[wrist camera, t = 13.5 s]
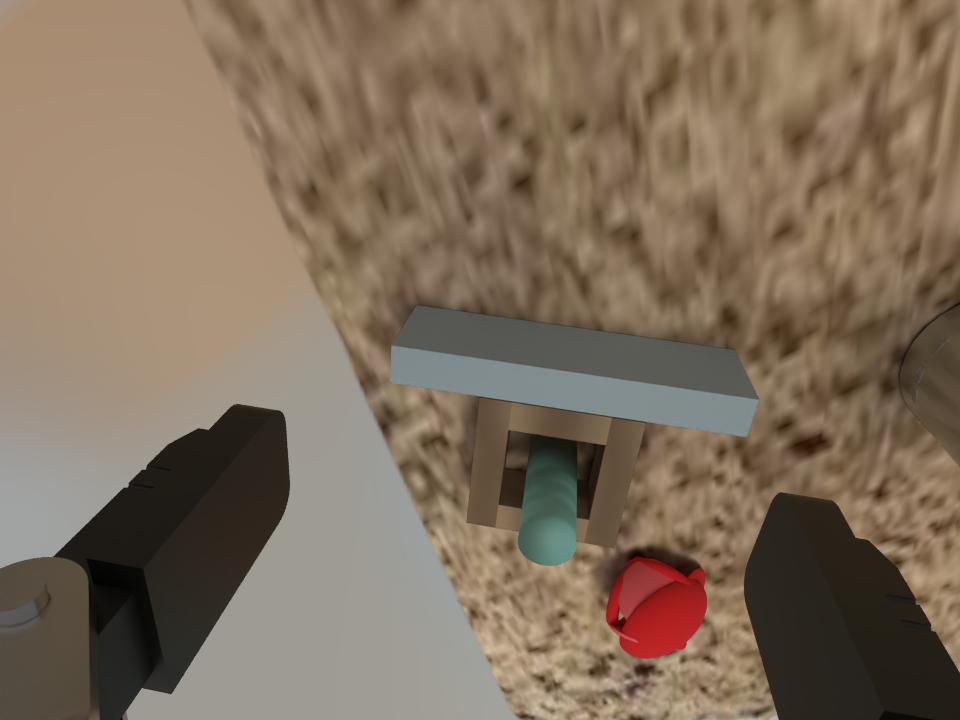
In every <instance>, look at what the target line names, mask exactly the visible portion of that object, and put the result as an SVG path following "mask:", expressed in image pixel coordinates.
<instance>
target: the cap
mask: <svg viewBox="0 0 960 720" xmlns="http://www.w3.org/2000/svg"><path fill="white" fill-rule="evenodd" d="M704 584H705V574H704V571H703V569H701V568H696V569H695V570H693V571H692V572H691V573H690V574H689V576H688V577H685V576H684V575H683V574H681V573H680V572H679V571H677V570H676V569H674V568H672V567H670V566H668V565H666V564H664V563H662V562H660V561H658V560H654V559H646V558H642V557H641V556H636V557H634V559H632V560H629V561H628V563H627V566H626V567H625V568H624V570H623V571H622V573H621V574H620V575H619V577H618V578H617V580H616V582H615V583H614V585H613V588H612V590H611V593H610V596H609V600H608V605H607V612H606V620H607V623H608V625H609V626H610V627H611V629H612V630H613V631H614V632H615V633H616V634H617V635H619V636H620V645H621V647H622V648H623V650H624V651H626V652H627V653H628V654H630V655H632V656H634V657H638V658H645V659H648V658H656V657H660V656H663V655H666V654H669V653H671V652H673V651H674V650H676V649H680V650H682V649H684V648H685V647H686V642H687V641H688V640H689V639H690V638H691V637H692V636H693V635H694V633H695V632H696V631H697V629H698V628H699V626H700V625H701V623H702V621H703V618H704V616H705V613H706V608H707V597H706V593H705V590H704ZM619 608H620V610H621V612H622V614H623V616H624V617H623V618H622V619H621V620H618V615H619Z"/></svg>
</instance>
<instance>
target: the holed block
mask: <svg viewBox="0 0 960 720" xmlns="http://www.w3.org/2000/svg"><path fill="white" fill-rule="evenodd" d="M645 425H646V422H644V421H637V420H631V419H624V418H618V417H611V416H605V415H598V414H592V413H585V412H579V411H572V410H566V409H559V408H552V407H546V406H539V405H533V404H526V403H520V402H513V401H507V400H500V399H494V398H487V397H481V396H480V397H479V406H478V415H477V425H476V435H475V444H474V454H473V464H472V473H471V483H470V493H469V502H468V512H467V522H466V523H471V524H477V525H483V526H489V527H495V528H501V529H506V530H512V531H518V532H519V528H520V520H521V513H522V505H523V497H524V489H525V481H526V473H527V472H525V471H518V470H512V469H506V468H505V465H506V458H507V451H508V443H509V436H510V430H512V431H518V432H525V433H531V434H537V435H544V436H550V437H557V438H563V439H569V440H576V441H582V442H588V443H595V444H597V445H596V450H595V455H594V459H593V464H592V469H591V473H590V478H589V482H586V481H580V480H577V519H576V542H582V543H588V544H594V545H600V546H605V547H611V548H614V546H615V542H616V538H617V534H618V530H619V526H620V523H621V519H622V515H623V511H624V507H625V503H626V499H627V495H628V491H629V487H630V483H631V479H632V476H633V472H634V468H635V464H636V460H637V456H638V452H639V448H640V444H641V440H642V436H643V432H644V429H645Z"/></svg>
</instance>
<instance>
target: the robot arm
mask: <svg viewBox="0 0 960 720" xmlns="http://www.w3.org/2000/svg"><path fill="white" fill-rule="evenodd" d="M900 386H901V391H902V396H903V398H904V400H905V402H906V404H907V405H908V407H909V409H910V410H911V411H912V412H913V413H914V415H915V416H916V417H917V418H918V419H919V420H920V421H921V423H922V424H923V425H924V426H925V427H926V428H927V429H928V430H929V432H930V433H931V434H932V435H933V436H934V437H935V438H936V440H937V441H938V442H939V443H940V444H941V446H942V447H943V448H944V449H945V450H946V452H947V453H948V454H949V455H950V456H951V457H952V458H953V459H954V461H955V462H956V463H957V464H958V465H959V466H960V305H958V306H957V307H955V308H953V309H951V310H949V311H948V312H946V313H944V314H942V315H941V316H940V317H938V318H937V319H936V320H935V321H933V322H932V323H931V324H930V325H928V326H927V327H926V328H925V329H924V330H923V331H922V333H921V334H920V335H919V336H918V337H917V338H916V339H915V340H914V342H913V344H912V345H911V347H910V349H909V350H908V352H907V354H906V356H905V359H904V362H903V365H902V368H901V375H900ZM289 479H290V478H289V463H288V449H287V433H286V421H285V417H284V415H283V413H282V412H281V411H278V410H271V409H265V408H259V407H253V406H247V405H241V404H236V405H233V406H231V407H230V408H229V409H228V410H227V412H225V413H224V414H223V416H222V417H221V418H220V419H219V420H218V421H217V422H216V423H215V424H214V425H213V426H212V427H211V428H210V429H209V430H205V429H199V428H198V429H196V430H194V431H193V432H191V433H189V434H187V435H185V436H183V437H181V438H179V439H177V440H175V441H174V442H172V443H170V444H168V445H167V446H166V447H165V448H164V449H163V450H162V451H161V452H160V453H159V454H158V455H157V456H156V457H155V458H154V459H153V460H152V461H151V462H150V463H149V464H148V465H147V468H146V470H141V471H140V473H138V474H137V475H136V476H135V477H134V478H133V479H132V480H131V481H130V482H129V486H128V488H123V489H122V490H121V491H120V492H119V493H118V494H117V495H116V496H115V497H114V498H113V499H112V500H111V501H110V502H109V503H108V504H107V505H106V506H105V507H104V508H103V509H102V510H101V511H100V512H99V513H98V514H96V516H94V517H93V518H92V519H91V521H89V522H88V523H87V524H86V525H85V526H84V527H83V528H82V529H81V530H80V531H79V532H78V533H77V534H76V535H75V536H74V537H73V538H72V539H71V540H70V541H69V542H68V543H67V544H66V545H65V546H64V547H63V548H62V549H61V550H60V551H59V552H58V553H57V554H56V555H55V556H53V557H42V558H33V559H28V560H24V561H20V562H17V563H13V564H11V565H8V566H6V567H3V568H1V569H0V720H128V719H127V714H126V710H127V709H128V707H129V706H130V704H131V703H132V702H133V700H134V699H135V697H136V696H137V694H138V693H139V691H140V690H141V688H144V689H149V690H154V691H159V692H164V693H168V694H172V692H173V691H174V689H175V688H176V686H177V684H178V683H179V681H180V680H181V678H182V676H183V675H184V673H185V672H186V670H187V669H188V667H189V665H190V664H191V662H192V661H193V659H194V657H195V656H196V654H197V653H198V651H199V649H200V647H201V646H202V645H203V643H204V642H205V640H206V638H207V637H208V635H209V634H210V632H211V630H212V629H213V627H214V625H215V624H216V622H217V621H218V619H219V618H220V616H221V614H222V613H223V611H224V610H225V608H226V607H227V605H228V603H229V602H230V600H231V599H232V597H233V595H234V594H235V592H236V590H237V589H238V587H239V586H240V584H241V583H242V581H243V579H244V578H245V576H246V575H247V573H248V572H249V570H250V568H251V567H252V565H253V563H254V562H255V560H256V559H257V557H258V556H259V554H260V552H261V551H262V549H263V548H264V546H265V544H266V543H267V541H268V540H269V538H270V536H271V535H272V533H273V532H274V530H275V529H276V527H277V525H278V524H279V522H280V520H281V519H282V516H283V514H284V512H285V509H286V505H287V502H288V497H289V490H290V480H289ZM744 596H745V602H746V607H747V610H748V614H749V617H750V621H751V624H752V628H753V631H754V635H755V638H756V642H757V645H758V648H759V652H760V655H761V659H762V662H763V666H764V669H765V673H766V676H767V680H768V683H769V687H770V690H771V694H772V697H773V701H774V704H775V708H776V711H777V715H778V718H779V720H960V672H959V671H958V669H957V667H956V666H955V664H954V662H953V661H952V659H951V657H950V656H949V654H948V652H947V651H946V649H945V647H944V645H943V644H942V642H941V640H940V639H939V637H938V635H937V634H936V632H934V631H931V624H930V622H929V620H928V618H927V617H926V615H925V613H924V612H923V610H922V608H921V607H920V605H916V603H915V600H916V598H915V597H914V595H913V593H912V592H911V590H910V588H909V586H908V585H907V583H906V581H905V580H904V578H903V576H902V575H901V573H900V571H899V570H898V568H897V567H896V566H895V565H894V564H893V563H892V562H891V561H890V560H888V559H887V558H886V557H885V556H884V555H883V554H882V553H881V552H880V551H879V550H878V549H877V548H876V547H875V546H874V545H873V544H872V543H871V542H869V541H868V540H865V539H859V538H855V536H854V534H853V532H852V531H851V529H850V527H849V525H848V523H847V521H846V520H845V518H844V516H843V514H842V512H841V510H840V509H839V507H838V505H837V504H836V503H835V502H833V501H832V500H826V499H819V498H813V497H807V496H801V495H794V494H788V493H782V492H781V493H779V494H777V495H776V496H775V497H774V499H773V500H772V503H771V505H770V507H769V510H768V512H767V515H766V517H765V520H764V522H763V525H762V528H761V530H760V533H759V535H758V538H757V540H756V543H755V545H754V548H753V550H752V553H751V555H750V558H749V560H748V563H747V567H746V571H745V578H744Z"/></svg>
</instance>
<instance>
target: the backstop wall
mask: <svg viewBox="0 0 960 720" xmlns="http://www.w3.org/2000/svg"><path fill="white" fill-rule="evenodd" d="M391 383H396V384H402V385H409V386H415V387H422V388H429V389H435V390H442V391H448V392H455V393H461V394H468V395H474V396H481V397H487V398H494V399H500V400H507V401H513V402H520V403H526V404H533V405H539V406H546V407H552V408H559V409H566V410H572V411H579V412H585V413H592V414H598V415H605V416H611V417H618V418H624V419H631V420H637V421H644V422H650V423H657V424H663V425H670V426H676V427H683V428H689V429H696V430H703V431H709V432H716V433H722V434H729V435H735V436H742V437H747V434H748V431H749V429H750V426H751V423H752V420H753V417H754V414H755V411H756V409H757V406H758V403H759V398H758V396H757V394H756V392H755V390H754V388H753V385H752V383H751V381H750V379H749V377H748V375H747V373H746V371H745V369H744V367H743V365H742V363H741V361H740V359H739V357H738V355H737V353H736V351H735V350H731V349H724V348H717V347H710V346H703V345H695V344H688V343H681V342H674V341H667V340H660V339H653V338H646V337H639V336H632V335H625V334H618V333H611V332H604V331H597V330H590V329H582V328H575V327H568V326H561V325H554V324H547V323H540V322H533V321H526V320H519V319H512V318H505V317H498V316H491V315H484V314H476V313H469V312H462V311H455V310H448V309H441V308H434V307H427V306H420V305H416V307H415V309H414V310H413V312H412V313H411V315H410V317H409V318H408V320H407V321H406V323H405V325H404V326H403V328H402V329H401V331H400V333H399V334H398V336H397V337H396V339H395V341H394V342H393V344H392V345H391Z"/></svg>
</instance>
